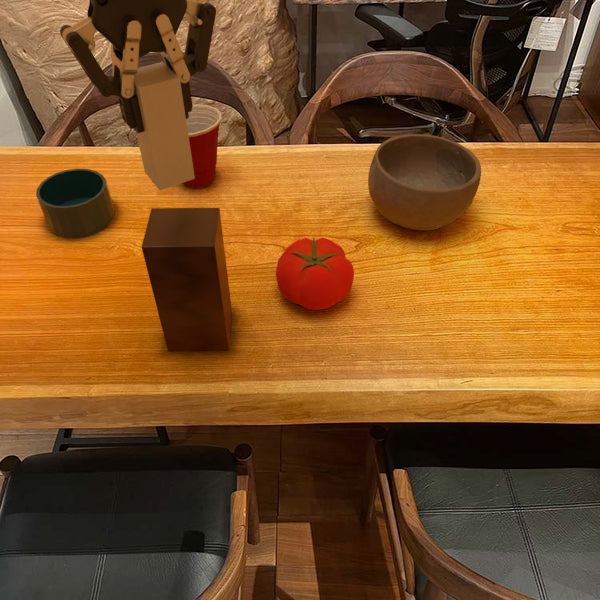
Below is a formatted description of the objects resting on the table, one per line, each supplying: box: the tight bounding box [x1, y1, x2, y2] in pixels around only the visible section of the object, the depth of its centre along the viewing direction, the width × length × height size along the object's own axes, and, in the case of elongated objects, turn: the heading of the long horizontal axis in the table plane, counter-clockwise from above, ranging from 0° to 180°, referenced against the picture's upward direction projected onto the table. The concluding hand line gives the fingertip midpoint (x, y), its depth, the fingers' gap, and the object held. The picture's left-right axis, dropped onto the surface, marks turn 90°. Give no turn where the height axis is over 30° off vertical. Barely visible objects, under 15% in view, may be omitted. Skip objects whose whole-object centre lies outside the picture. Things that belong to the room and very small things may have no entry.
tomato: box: [275, 236, 355, 311], centre depth 82 cm, size 11×11×8 cm
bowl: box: [367, 133, 482, 231], centre depth 94 cm, size 17×18×10 cm
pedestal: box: [141, 207, 233, 352], centre depth 73 cm, size 8×7×18 cm
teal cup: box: [35, 168, 115, 239], centre depth 94 cm, size 11×11×6 cm
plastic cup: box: [183, 104, 222, 189], centre depth 100 cm, size 11×11×12 cm
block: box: [134, 61, 195, 191], centre depth 58 cm, size 4×4×11 cm
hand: (159, 121), depth 57 cm, fingers closed on block, 4 cm apart
